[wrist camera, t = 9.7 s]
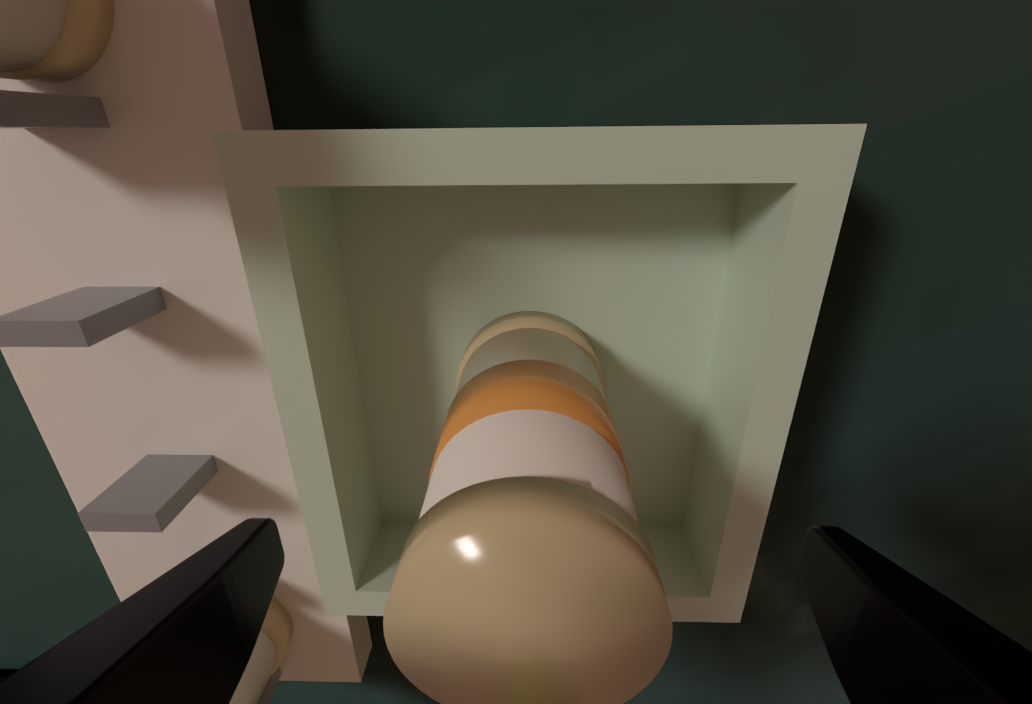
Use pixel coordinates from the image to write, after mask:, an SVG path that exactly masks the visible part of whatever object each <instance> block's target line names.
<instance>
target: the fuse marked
mask: <svg viewBox="0 0 1032 704" xmlns="http://www.w3.org/2000/svg"><path fill="white" fill-rule="evenodd" d="M383 629H384V637H385V641H386V645H387V648H388V650H389V652H390V655H391V657H392V659H393V661H394V662H395V664H396V665H397V667H398V668H399V670H400V671H401V672H402V673H403V674H404V676H405V677H406V678H407V679H408V680H409V681H410V682H411V683H412V684H413V685H415V686H416V687H417V688H418V689H419V690H420V691H422V692H423V693H425V694H426V695H427V696H429V697H430V698H432V699H433V700H435V701H437V702H439V703H441V704H623V703H625V702H626V701H628V700H629V699H631V698H633V697H634V696H635V695H637V694H638V693H639V692H640V691H642V690H643V689H644V688H645V687H646V686H647V685H648V684H649V683H650V682H651V681H652V680H653V679H654V678H655V677H656V675H657V674H658V672H659V671H660V670H661V668H662V667H663V665H664V663H665V661H666V659H667V656H668V654H669V651H670V647H671V643H672V634H673V626H672V617H671V613H670V610H669V606H668V602H667V599H666V595H665V592H664V588H663V585H662V581H661V578H660V574H659V571H658V567H657V564H656V560H655V557H654V554H653V550H652V547H651V544H650V542H649V540H648V539H647V537H646V535H645V533H644V531H643V530H642V529H641V527H640V526H639V523H638V519H637V515H636V512H635V508H634V504H633V500H632V497H631V493H630V483H629V476H628V472H627V468H626V464H625V461H624V457H623V453H622V450H621V446H620V443H619V439H618V435H617V432H616V428H615V425H614V421H613V417H612V414H611V411H610V408H609V406H608V404H607V402H606V400H605V384H604V378H603V374H602V370H601V367H600V363H599V360H598V357H597V354H596V351H595V349H594V347H593V345H592V343H591V342H590V340H589V339H588V338H587V336H586V335H585V334H584V333H583V332H582V331H581V330H580V329H579V328H578V327H576V326H575V325H574V324H572V323H571V322H569V321H567V320H566V319H563V318H561V317H559V316H557V315H553V314H550V313H546V312H541V311H519V312H514V313H510V314H507V315H503V316H501V317H499V318H497V319H494V320H493V321H491V322H489V323H488V324H486V325H485V326H484V327H483V328H481V329H480V330H479V331H478V332H477V333H476V334H475V335H474V337H473V338H472V339H471V341H470V342H469V344H468V346H467V348H466V350H465V352H464V355H463V358H462V361H461V364H460V368H459V371H458V374H457V378H456V388H455V398H454V399H453V401H452V403H451V405H450V407H449V411H448V414H447V417H446V420H445V424H444V427H443V430H442V434H441V437H440V440H439V443H438V447H437V450H436V453H435V457H434V460H433V463H432V467H431V470H430V475H429V486H428V489H427V493H426V496H425V500H424V503H423V506H422V510H421V513H420V517H419V520H418V521H417V523H416V524H415V525H414V527H413V528H412V530H411V532H410V534H409V536H408V538H407V539H406V542H405V545H404V548H403V552H402V555H401V558H400V561H399V564H398V568H397V571H396V574H395V577H394V581H393V584H392V587H391V590H390V593H389V597H388V600H387V603H386V606H385V610H384V618H383Z"/></svg>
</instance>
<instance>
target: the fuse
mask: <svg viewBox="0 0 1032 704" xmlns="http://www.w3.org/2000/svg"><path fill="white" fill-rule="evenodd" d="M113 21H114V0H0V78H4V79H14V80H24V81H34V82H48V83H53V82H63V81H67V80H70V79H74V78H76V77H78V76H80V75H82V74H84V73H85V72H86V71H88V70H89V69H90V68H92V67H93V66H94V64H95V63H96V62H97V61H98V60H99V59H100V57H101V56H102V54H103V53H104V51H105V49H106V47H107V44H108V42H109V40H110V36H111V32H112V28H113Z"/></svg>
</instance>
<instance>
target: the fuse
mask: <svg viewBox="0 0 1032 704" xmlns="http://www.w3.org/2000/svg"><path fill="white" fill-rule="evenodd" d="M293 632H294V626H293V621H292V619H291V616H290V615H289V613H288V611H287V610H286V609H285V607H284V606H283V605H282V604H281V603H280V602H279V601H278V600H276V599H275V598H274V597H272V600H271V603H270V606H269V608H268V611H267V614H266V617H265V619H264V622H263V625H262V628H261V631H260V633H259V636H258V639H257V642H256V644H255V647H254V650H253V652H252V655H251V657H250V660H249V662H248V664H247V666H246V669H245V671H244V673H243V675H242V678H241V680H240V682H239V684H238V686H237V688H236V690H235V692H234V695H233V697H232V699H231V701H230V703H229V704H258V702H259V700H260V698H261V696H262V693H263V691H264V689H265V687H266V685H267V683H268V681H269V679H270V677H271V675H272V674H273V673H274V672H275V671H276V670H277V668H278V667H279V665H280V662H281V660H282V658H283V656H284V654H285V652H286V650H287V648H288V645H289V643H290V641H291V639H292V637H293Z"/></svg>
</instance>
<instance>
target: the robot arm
mask: <svg viewBox="0 0 1032 704" xmlns="http://www.w3.org/2000/svg"><path fill="white" fill-rule="evenodd" d="M284 559H285V556H284V550H283V546H282V542H281V539H280V535H279V531H278V527H277V524H276V522H275V521H274V520H273V519H271V518H248V519H246V520H244V521H243V522H241V523H240V524H238V525H237V526H235V527H234V528H232V529H231V530H229V531H227V532H226V533H224V534H223V535H221V536H220V537H218V538H217V539H215V540H214V541H212V542H211V543H209V544H208V545H206V546H205V547H203V548H202V549H200V550H199V551H197V552H196V553H194V554H193V555H191V556H190V557H188V558H187V559H185V560H184V561H182V562H181V563H179V564H178V565H176V566H175V567H173V568H172V569H170V570H169V571H167V572H166V573H164V574H163V575H161V576H160V577H158V578H157V579H155V580H154V581H152V582H150V583H149V584H147V585H146V586H144V587H143V588H141V589H140V590H138V591H137V592H135V593H134V594H132V595H131V596H129V597H128V598H126V599H125V600H123V601H122V602H120V603H119V604H117V605H116V606H114V607H113V608H111V609H110V610H108V611H107V612H105V613H104V614H102V615H101V616H99V617H98V618H96V619H95V620H93V621H92V622H90V623H89V624H87V625H86V626H84V627H83V628H81V629H79V630H78V631H76V632H75V633H73V634H72V635H70V636H69V637H67V638H66V639H64V640H63V641H61V642H60V643H58V644H57V645H55V646H54V647H52V648H51V649H49V650H48V651H46V652H45V653H43V654H42V655H40V656H39V657H37V658H36V659H34V660H33V661H31V662H30V663H28V664H27V665H25V666H24V667H22V668H21V669H19V670H17V671H16V672H0V704H229V703H230V701H231V699H232V697H233V695H234V692H235V690H236V688H237V686H238V684H239V682H240V680H241V678H242V675H243V673H244V671H245V669H246V666H247V664H248V662H249V660H250V657H251V655H252V652H253V650H254V647H255V644H256V642H257V639H258V636H259V633H260V631H261V628H262V625H263V622H264V619H265V617H266V614H267V611H268V608H269V606H270V603H271V600H272V597H273V594H274V592H275V589H276V586H277V583H278V580H279V578H280V575H281V572H282V569H283V566H284ZM798 573H799V577H800V580H801V583H802V585H803V588H804V591H805V593H806V596H807V598H808V601H809V604H810V606H811V609H812V612H813V614H814V617H815V620H816V622H817V625H818V628H819V630H820V633H821V635H822V638H823V641H824V643H825V646H826V649H827V651H828V654H829V657H830V659H831V661H832V664H833V666H834V669H835V671H836V674H837V676H838V678H839V680H840V682H841V684H842V686H843V689H844V691H845V693H846V695H847V697H848V699H849V701H850V703H851V704H1032V652H1031V651H1029V650H1028V649H1026V648H1025V647H1023V646H1022V645H1020V644H1018V643H1017V642H1015V641H1014V640H1012V639H1011V638H1009V637H1008V636H1006V635H1005V634H1003V633H1002V632H1000V631H998V630H997V629H995V628H994V627H992V626H991V625H989V624H988V623H986V622H985V621H983V620H981V619H980V618H978V617H977V616H975V615H974V614H972V613H971V612H969V611H968V610H966V609H965V608H963V607H961V606H960V605H958V604H957V603H955V602H954V601H952V600H951V599H949V598H948V597H946V596H944V595H943V594H941V593H940V592H938V591H937V590H935V589H934V588H932V587H931V586H929V585H928V584H926V583H924V582H923V581H921V580H920V579H918V578H917V577H915V576H914V575H912V574H911V573H909V572H907V571H906V570H904V569H903V568H901V567H900V566H898V565H897V564H895V563H894V562H892V561H891V560H889V559H887V558H886V557H884V556H883V555H881V554H880V553H878V552H877V551H875V550H874V549H872V548H870V547H869V546H867V545H866V544H864V543H863V542H861V541H860V540H858V539H857V538H855V537H854V536H852V535H850V534H849V533H847V532H846V531H844V530H843V529H841V528H839V527H836V526H812V527H810V528H809V529H808V531H807V533H806V537H805V540H804V543H803V546H802V550H801V553H800V556H799V560H798Z"/></svg>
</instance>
